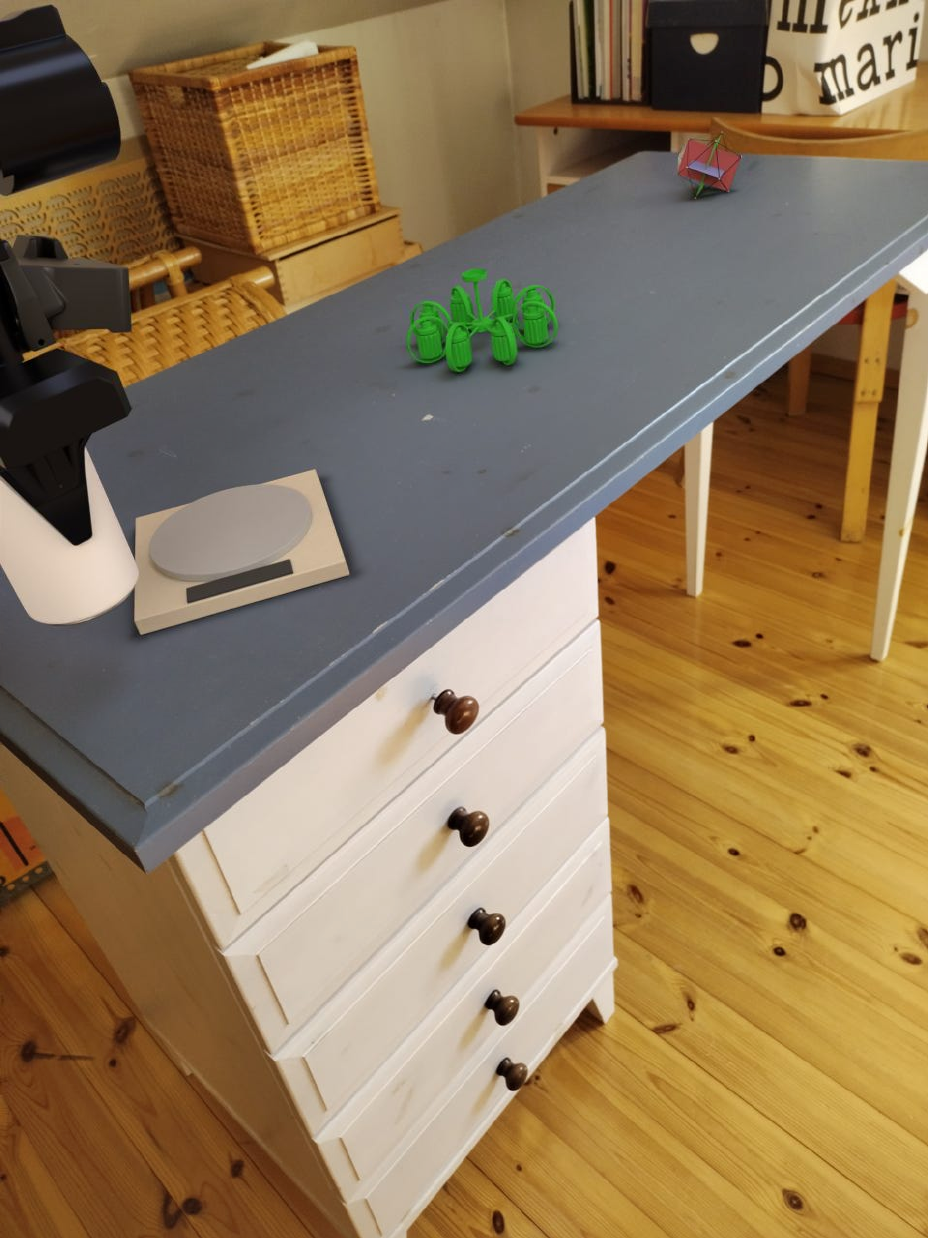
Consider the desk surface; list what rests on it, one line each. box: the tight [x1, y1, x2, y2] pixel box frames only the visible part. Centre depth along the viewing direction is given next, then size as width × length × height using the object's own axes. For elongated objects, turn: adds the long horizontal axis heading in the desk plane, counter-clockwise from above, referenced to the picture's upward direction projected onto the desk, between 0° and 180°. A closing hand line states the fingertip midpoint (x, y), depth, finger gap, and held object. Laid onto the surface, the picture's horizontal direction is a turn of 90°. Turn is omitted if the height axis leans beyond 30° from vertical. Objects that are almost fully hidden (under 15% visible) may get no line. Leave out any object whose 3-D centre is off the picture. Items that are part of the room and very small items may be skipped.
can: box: [0, 446, 139, 627], centre depth 51 cm, size 6×6×12 cm
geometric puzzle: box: [676, 131, 743, 200], centre depth 116 cm, size 7×7×8 cm
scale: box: [133, 468, 350, 635], centre depth 67 cm, size 14×14×2 cm
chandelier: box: [405, 267, 559, 373], centre depth 88 cm, size 15×15×7 cm
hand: (54, 523), depth 52 cm, fingers closed on can, 6 cm apart
